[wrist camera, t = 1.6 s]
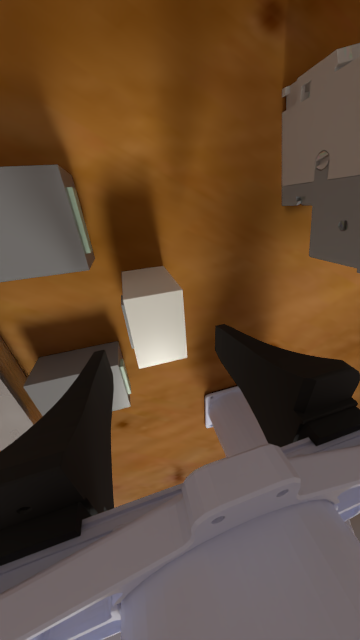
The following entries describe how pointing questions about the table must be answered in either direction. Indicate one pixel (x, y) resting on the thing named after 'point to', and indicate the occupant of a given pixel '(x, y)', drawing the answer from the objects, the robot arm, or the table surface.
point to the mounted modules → (50, 266)
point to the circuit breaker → (326, 154)
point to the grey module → (154, 315)
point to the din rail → (14, 400)
